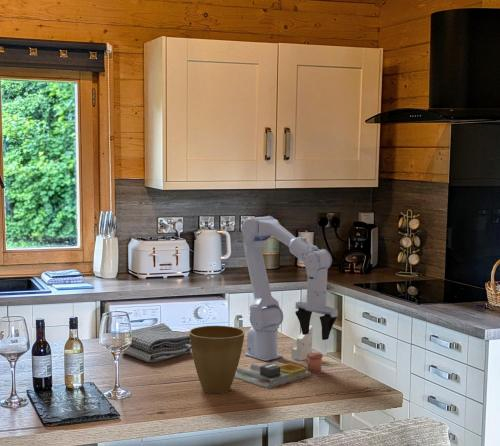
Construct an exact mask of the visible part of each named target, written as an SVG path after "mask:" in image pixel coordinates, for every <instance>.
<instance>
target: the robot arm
mask: <svg viewBox="0 0 500 446" xmlns="http://www.w3.org/2000/svg"><path fill="white" fill-rule="evenodd" d="M240 229H241V233H242V239H243V243H242V244H243V250H244V255H245V259H246V263H247V270H248V274H249V278H250V280H249V281H250V284H251V289H252V294H253V297H254V298H253V299H254V300H253V302H252V303H251V304H250V306H249V312H250V314H249V322H250V324H251V327H250V328H249V329H248V331H247V333H246V334H247V335H246V352H245V353H244V355H245V356H249V357H251V358H255V359H258V360H261V361H266V362H267V361H270V360H275V359H279V358H282V357H284V355H283V354H282V353H278V338H279V337H278V336H279V335H278V334H279V332H278V329H280V325H281V324H282V323H283V321H284V312H283V310H282V308H281V307H280V303H279V301H278V300H277V299H276V298H274V296H272V292H271V291H272V290H271V287H270V282H269V278H268V277H269V276H268V273H267V269H266V264H265V259H264V253H263V246H264V244H265V243H266V242H267V241H268V240H270V239H271V238H272V237H273V238H274V239H275V240H277V241H278V242H281V243H282V244H284V245H285V246H286V247H288V250H289V252H290V253H291V254H292V255H293V256H294V257H296V258H298V260H300V261H301V262H303V265H304V267H305V271H306V272H305V274H306V276H307V283H306V285H307V286H306V302H304V301H296V302H295V309H296V310H295V313H294V314H295V316H296V318H297V320H298V322H299V326H300V328H301V333H302V334H303V335H306V334H309V326H310V325H311V324H310V323H311V317H312V314H313V313H315V314H321V316H319V321H320V324H321V340H322V341H326V340H328V339H330V335H331V334H330V333H331V331H332V327H333V325H334V324H335V322H336V320H337V319H338V314H339V313H338V312H339V309H335V308H333V307H330V306H328V305H327V291H328V290H327V288H328V269H329V268H330V267H331V265H332V262H333V258H332V255H331V253H330V252H329V251H328V250H327V249H325V248H321V249H319V247H318V246H317V245H314V244H313V243H311V242H310V241H308V239H307V237H305V236H297V237H296V236H294V234H293V233H291V232H290V231H289V230H287V229H286V228H285V227H284V226H282V225H281V224H280V223H279V220H278V219H276V218H274V217H273V216H271V215H267V216H258V217H252V216H250V217H246V218H245V219H244V221H243V223H242V225H241V227H240Z"/></svg>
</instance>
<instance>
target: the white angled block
mask: <svg viewBox="0 0 500 446" xmlns="http://www.w3.org/2000/svg"><path fill="white" fill-rule="evenodd" d="M313 326H314V325H311V324H310V326H309V334H306V335H303V334H302V332H300V334H299V335H298V336H297V337H296V347H292V348H291V360H292V359H294V360H297V361H303V360H308V357H307V354H308V353H313V349H312V348H313V330H314V327H313Z"/></svg>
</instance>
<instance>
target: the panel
mask: <svg viewBox="0 0 500 446" xmlns="http://www.w3.org/2000/svg"><path fill="white" fill-rule="evenodd" d="M268 364H272V365H273V364H275V365H276V366H278V367H280V376H277V377H274V378H269V377H266V376H263V375H260V367H261V366H265V365H268ZM311 374H312V373H311V372H309V371H308V370H307V368H306V367H303V366H300V365H296V364H293V363H283V362H279V361H276V360H275V361H272V362H268V363H264V364H261V365H257V364H254V363H252V364H250V368H246V369H244V368H241V367H237V370H236V373H235V377H234V378H236V379H239V380H242V381H245V382H247V383H250V384H255V385H257V386H259V387H262V388H266V389H270V388H274V387H277V386H281V385H283V384H287V383H290V382H293V381H297V380H300V379H304V378H306V377H307V378H308V377H310V376H311Z"/></svg>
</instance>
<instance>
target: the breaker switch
mask: <svg viewBox="0 0 500 446" xmlns="http://www.w3.org/2000/svg"><path fill="white" fill-rule="evenodd" d="M267 364H268V363H267ZM260 375H263V376H266V377H269V378H274V377H277V376H280V367H278V366H276V365H275V364H273V365H272V364H268V365H265V366H261V367H260Z"/></svg>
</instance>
